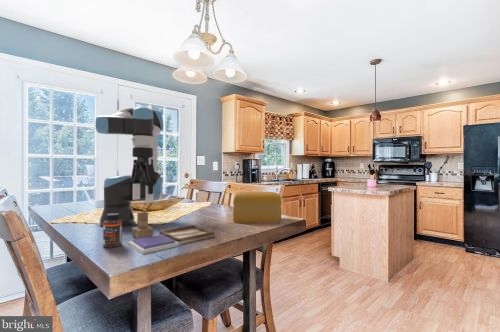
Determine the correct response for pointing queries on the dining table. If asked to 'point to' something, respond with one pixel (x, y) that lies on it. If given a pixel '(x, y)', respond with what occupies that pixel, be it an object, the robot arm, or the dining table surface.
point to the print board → (187, 234)
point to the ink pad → (152, 243)
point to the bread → (256, 207)
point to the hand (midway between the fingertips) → (142, 201)
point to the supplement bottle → (112, 231)
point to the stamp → (142, 227)
